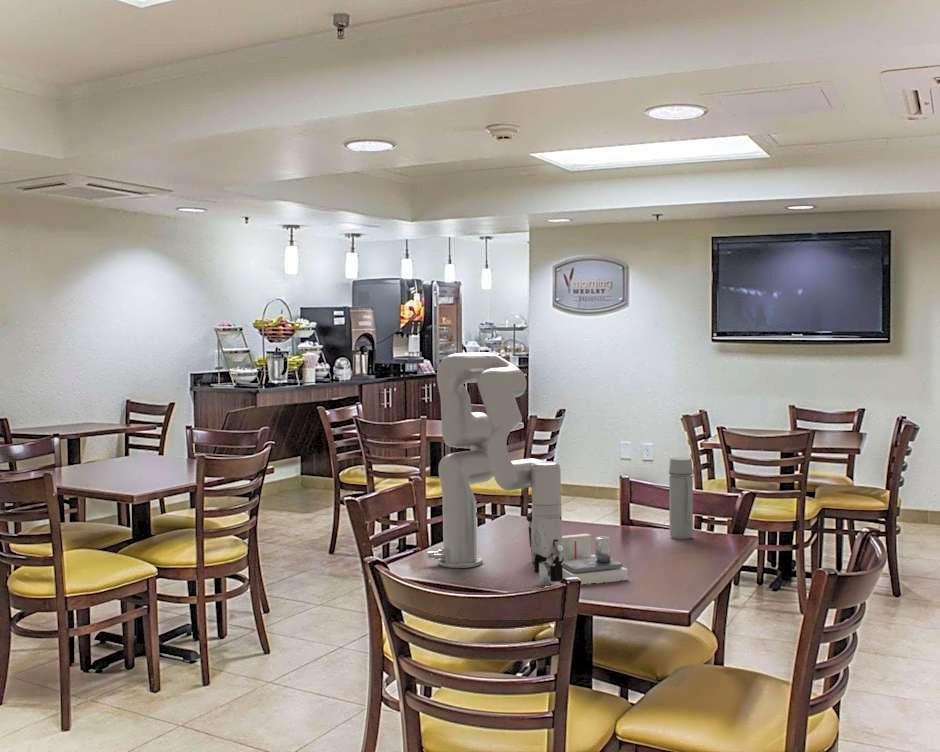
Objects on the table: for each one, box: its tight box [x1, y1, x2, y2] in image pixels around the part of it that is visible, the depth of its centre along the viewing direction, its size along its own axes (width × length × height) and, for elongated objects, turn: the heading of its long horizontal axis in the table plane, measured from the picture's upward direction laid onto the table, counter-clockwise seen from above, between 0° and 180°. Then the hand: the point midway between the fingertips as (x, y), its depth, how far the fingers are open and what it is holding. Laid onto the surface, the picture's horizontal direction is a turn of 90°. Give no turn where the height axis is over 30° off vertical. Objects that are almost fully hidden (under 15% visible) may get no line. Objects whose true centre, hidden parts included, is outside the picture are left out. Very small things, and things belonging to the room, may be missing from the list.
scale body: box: [546, 533, 629, 585], centre depth 244 cm, size 16×18×9 cm
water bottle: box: [668, 456, 695, 540], centre depth 286 cm, size 9×8×25 cm
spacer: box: [538, 561, 556, 588], centre depth 234 cm, size 4×4×6 cm
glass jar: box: [594, 535, 612, 562], centre depth 243 cm, size 4×4×6 cm
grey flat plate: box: [562, 556, 623, 573], centre depth 242 cm, size 14×10×1 cm
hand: (548, 576), depth 233 cm, fingers open, 9 cm apart
